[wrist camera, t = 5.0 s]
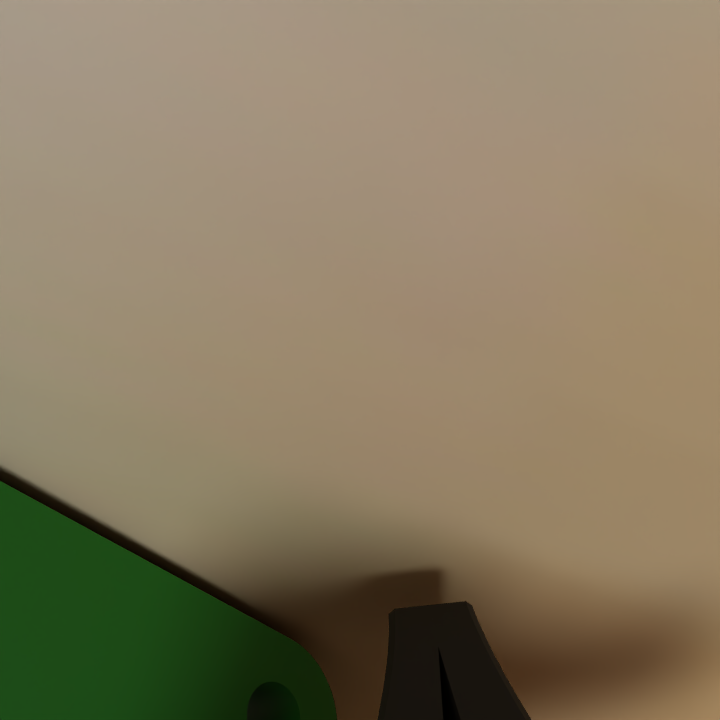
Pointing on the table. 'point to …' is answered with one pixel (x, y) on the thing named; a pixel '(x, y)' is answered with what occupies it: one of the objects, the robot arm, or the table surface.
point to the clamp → (131, 636)
